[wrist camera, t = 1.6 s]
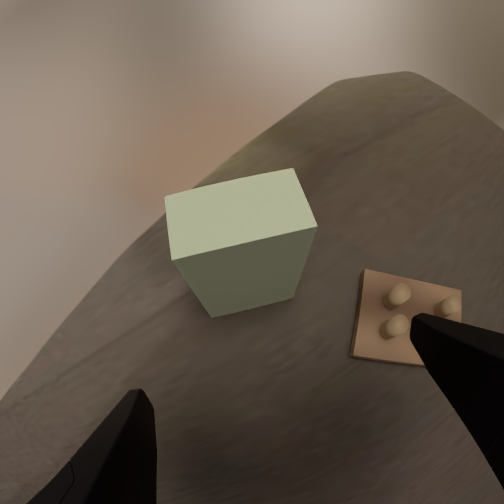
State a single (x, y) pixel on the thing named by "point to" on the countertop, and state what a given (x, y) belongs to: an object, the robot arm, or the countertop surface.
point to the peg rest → (396, 315)
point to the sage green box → (241, 240)
